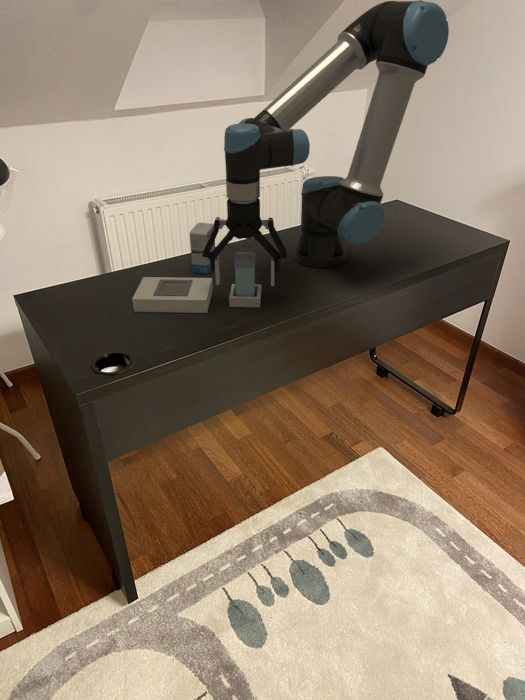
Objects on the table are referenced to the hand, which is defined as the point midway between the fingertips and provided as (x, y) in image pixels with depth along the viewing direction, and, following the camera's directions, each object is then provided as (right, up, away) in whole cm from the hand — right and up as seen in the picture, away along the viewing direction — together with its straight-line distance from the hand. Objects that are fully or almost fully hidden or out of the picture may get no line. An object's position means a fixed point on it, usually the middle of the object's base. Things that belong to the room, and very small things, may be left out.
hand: (245, 283), depth 131 cm
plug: (0, -4, +3) cm, 5 cm away
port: (-18, -4, +2) cm, 19 cm away
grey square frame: (0, -4, +3) cm, 5 cm away
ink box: (-12, +7, +19) cm, 24 cm away
